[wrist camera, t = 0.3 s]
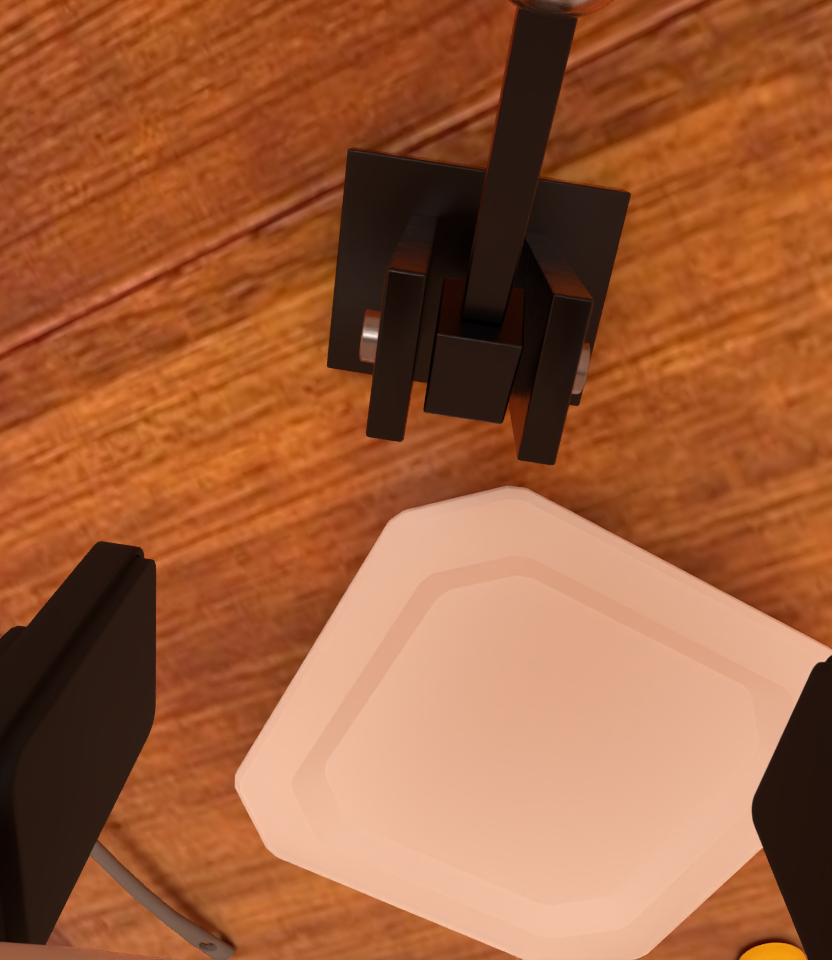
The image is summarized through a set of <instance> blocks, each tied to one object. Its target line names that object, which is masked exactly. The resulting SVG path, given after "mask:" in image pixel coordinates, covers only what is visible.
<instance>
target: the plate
mask: <svg viewBox="0 0 832 960" xmlns="http://www.w3.org/2000/svg"><path fill="white" fill-rule="evenodd" d="M831 655H832V649H831V648H830V647H828V646H826V645H824V644H822V643H820V642H818V641H816V640H814V639H812V638H811V637H809V636H807V635H805V634H803V633H801V632H799V631H797V630H795V629H793V628H792V627H790V626H788V625H786V624H784V623H782V622H780V621H778V620H776V619H774V618H773V617H771V616H769V615H767V614H765V613H763V612H761V611H759V610H757V609H755V608H754V607H752V606H750V605H748V604H746V603H744V602H742V601H740V600H738V599H736V598H735V597H733V596H731V595H729V594H727V593H725V592H723V591H721V590H719V589H718V588H716V587H714V586H712V585H710V584H708V583H706V582H704V581H702V580H701V579H699V578H697V577H695V576H693V575H691V574H689V573H687V572H685V571H683V570H682V569H680V568H678V567H676V566H674V565H672V564H670V563H668V562H666V561H665V560H663V559H661V558H659V557H657V556H655V555H653V554H651V553H649V552H647V551H646V550H644V549H642V548H640V547H638V546H636V545H634V544H632V543H630V542H629V541H627V540H625V539H623V538H621V537H619V536H617V535H615V534H613V533H612V532H610V531H608V530H606V529H604V528H602V527H600V526H598V525H596V524H594V523H593V522H591V521H589V520H587V519H585V518H583V517H581V516H579V515H577V514H576V513H574V512H572V511H570V510H568V509H566V508H564V507H562V506H560V505H558V504H557V503H555V502H553V501H551V500H549V499H547V498H545V497H543V496H541V495H540V494H538V493H536V492H534V491H532V490H530V489H528V488H525V487H517V486H508V485H507V486H503V487H498V488H494V489H490V490H486V491H482V492H477V493H473V494H469V495H465V496H461V497H456V498H452V499H448V500H444V501H440V502H436V503H431V504H427V505H423V506H419V507H415V508H410V509H406V510H403V511H402V512H401V513H399V514H398V515H396V516H395V517H393V518H392V519H391V520H389V521H388V523H387V524H386V526H385V528H384V529H383V531H382V533H381V534H380V536H379V538H378V539H377V541H376V542H375V544H374V546H373V547H372V549H371V551H370V552H369V554H368V556H367V557H366V559H365V561H364V562H363V564H362V566H361V567H360V569H359V570H358V572H357V574H356V575H355V577H354V579H353V580H352V582H351V584H350V585H349V587H348V589H347V590H346V592H345V594H344V595H343V597H342V598H341V600H340V602H339V603H338V605H337V607H336V608H335V610H334V612H333V613H332V615H331V617H330V618H329V620H328V621H327V623H326V625H325V626H324V628H323V630H322V631H321V633H320V635H319V636H318V638H317V640H316V641H315V643H314V645H313V646H312V648H311V649H310V651H309V653H308V654H307V656H306V658H305V659H304V661H303V663H302V664H301V666H300V668H299V669H298V671H297V673H296V674H295V676H294V677H293V679H292V681H291V682H290V684H289V686H288V687H287V689H286V691H285V692H284V694H283V696H282V697H281V699H280V701H279V702H278V704H277V705H276V707H275V709H274V710H273V712H272V714H271V715H270V717H269V719H268V720H267V722H266V724H265V725H264V727H263V729H262V730H261V732H260V734H259V735H258V737H257V738H256V740H255V742H254V743H253V745H252V747H251V748H250V750H249V752H248V753H247V755H246V757H245V758H244V760H243V762H242V763H241V765H240V766H239V768H238V770H237V771H236V773H235V789H236V791H237V793H238V794H239V796H240V798H241V800H242V802H243V804H244V806H245V808H246V810H247V812H248V814H249V816H250V818H251V820H252V822H253V824H254V825H255V827H256V829H257V831H258V833H259V835H260V837H261V839H262V841H263V843H264V845H265V847H266V848H267V849H268V850H269V851H270V852H272V853H273V854H274V855H275V856H276V857H278V858H280V859H282V860H285V861H287V862H290V863H292V864H294V865H297V866H299V867H302V868H304V869H307V870H309V871H311V872H314V873H316V874H319V875H321V876H323V877H326V878H328V879H331V880H333V881H335V882H338V883H340V884H343V885H345V886H348V887H350V888H352V889H355V890H357V891H360V892H362V893H364V894H367V895H369V896H372V897H374V898H376V899H379V900H381V901H384V902H386V903H388V904H391V905H393V906H396V907H398V908H401V909H403V910H405V911H408V912H410V913H413V914H415V915H417V916H420V917H422V918H425V919H427V920H429V921H432V922H434V923H437V924H439V925H442V926H444V927H446V928H449V929H451V930H454V931H456V932H458V933H461V934H463V935H466V936H468V937H470V938H473V939H475V940H478V941H480V942H483V943H485V944H487V945H490V946H492V947H495V948H497V949H499V950H502V951H504V952H507V953H509V954H511V955H514V956H516V957H519V958H521V959H523V960H635V959H637V958H640V957H642V956H644V955H646V954H648V953H649V952H650V951H651V950H652V949H653V948H654V947H655V946H657V945H658V944H659V943H660V942H661V941H662V940H663V939H664V938H665V937H666V936H667V935H668V934H670V933H671V932H672V931H673V930H674V929H675V928H676V927H677V926H678V925H679V924H680V923H681V922H683V921H684V920H685V919H686V918H687V917H688V916H689V915H690V914H691V913H692V912H693V911H694V910H696V909H697V908H698V907H699V906H700V905H701V904H702V903H703V902H704V901H705V900H706V899H707V898H709V897H710V896H711V895H712V894H713V893H714V892H715V891H716V890H717V889H718V888H719V887H720V886H722V885H723V884H724V883H725V882H726V881H727V880H728V879H729V878H730V877H731V876H732V875H733V874H735V873H736V872H737V871H738V870H739V869H740V868H741V867H742V866H743V865H744V864H745V863H746V862H748V861H749V860H750V859H751V858H752V857H753V856H754V855H755V854H756V853H757V852H758V851H760V850H761V849H762V848H763V847H762V844H761V842H760V839H759V837H758V834H757V832H756V829H755V827H754V824H753V820H752V801H753V797H754V795H755V793H756V790H757V788H758V786H759V784H760V782H761V779H762V777H763V775H764V773H765V771H766V769H767V766H768V764H769V762H770V760H771V758H772V756H773V753H774V751H775V749H776V747H777V745H778V743H779V740H780V738H781V736H782V734H783V732H784V729H785V727H786V725H787V723H788V721H789V719H790V716H791V714H792V712H793V710H794V708H795V706H796V703H797V701H798V699H799V697H800V695H801V693H802V690H803V688H804V686H805V684H806V682H807V679H808V677H809V675H810V673H811V671H812V669H813V667H814V666H815V665H816V664H817V663H818V662H825V661H826V660H827V658H829V657H830V656H831Z"/></svg>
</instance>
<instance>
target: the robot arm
mask: <svg viewBox="0 0 832 960" xmlns="http://www.w3.org/2000/svg"><path fill="white" fill-rule="evenodd" d="M155 706H156V564H155V561H154V560H152V559H145V558H144V553H143V550H142V549H141V548H140V547H136V546H129V545H123V544H116V543H109V542H103V541H101V542H97V543H96V544H95V545H94V546H93V547H92V549H91V550H90V551H89V552H88V553H87V555H86V556H85V557H84V558H83V559H82V561H81V562H80V563H79V564H78V565H77V567H76V568H75V569H74V570H73V572H72V573H71V574H70V575H69V576H68V578H67V579H66V580H65V581H64V582H63V584H62V585H61V586H60V587H59V588H58V590H57V591H56V592H55V593H54V594H53V596H52V597H51V598H50V599H49V601H48V602H47V603H46V604H45V605H44V607H43V608H42V609H41V610H40V611H39V613H38V614H37V615H36V616H35V617H34V619H33V620H32V621H31V622H30V624H29V625H28V626H27V627H24V626H16V627H14V628H11V629H10V630H9V631H8V632H7V633H6V634H4V635H3V636H2V638H1V639H0V960H176V959H167V958H159V957H151V956H142V955H134V954H126V953H117V952H109V951H101V950H92V949H84V948H76V947H65V946H51V945H46V943H47V941H48V938H49V936H50V934H51V932H52V930H53V928H54V926H55V924H56V922H57V920H58V918H59V916H60V914H61V912H62V910H63V908H64V906H65V904H66V902H67V900H68V898H69V896H70V894H71V892H72V890H73V888H74V886H75V884H76V882H77V880H78V878H79V876H80V874H81V872H82V870H83V867H84V865H85V863H86V861H87V859H88V857H89V855H90V853H91V851H92V849H93V847H94V845H95V843H96V841H97V839H98V837H99V835H100V833H101V831H102V829H103V827H104V825H105V823H106V821H107V819H108V817H109V815H110V813H111V811H112V809H113V807H114V805H115V803H116V801H117V799H118V796H119V794H120V792H121V790H122V788H123V786H124V784H125V782H126V780H127V778H128V776H129V774H130V772H131V770H132V768H133V766H134V764H135V762H136V760H137V758H138V756H139V754H140V752H141V750H142V748H143V746H144V744H145V742H146V740H147V738H148V736H149V733H150V731H151V728H152V725H153V720H154V715H155ZM752 820H753V824H754V827H755V829H756V832H757V834H758V837H759V839H760V842H761V844H762V847H763V849H764V852H765V854H766V856H767V859H768V861H769V864H770V866H771V869H772V871H773V874H774V876H775V879H776V881H777V884H778V886H779V889H780V891H781V893H782V896H783V898H784V901H785V903H786V906H787V908H788V911H789V913H790V916H791V918H792V921H793V923H794V926H795V928H796V931H797V933H798V935H799V938H800V940H801V943H802V945H803V948H804V950H805V953H806V955H807V958H808V960H832V655H831V656H830V657H829V658H827V660H826V661H825V662H818V663H817V664H816V665H815V666H814V667H813V669H812V671H811V673H810V675H809V677H808V679H807V682H806V684H805V686H804V688H803V690H802V693H801V695H800V697H799V699H798V701H797V703H796V706H795V708H794V710H793V712H792V714H791V716H790V719H789V721H788V723H787V725H786V727H785V729H784V732H783V734H782V736H781V738H780V740H779V743H778V745H777V747H776V749H775V751H774V753H773V756H772V758H771V760H770V762H769V764H768V766H767V769H766V771H765V773H764V775H763V777H762V779H761V782H760V784H759V786H758V788H757V790H756V793H755V795H754V797H753V801H752Z"/></svg>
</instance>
